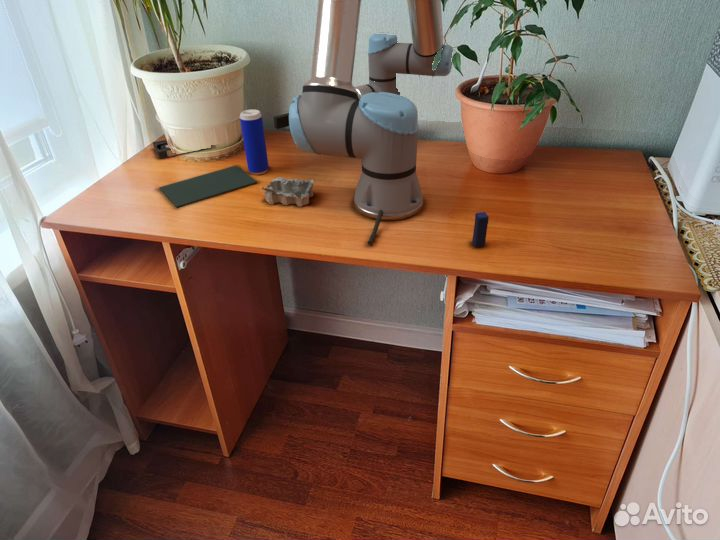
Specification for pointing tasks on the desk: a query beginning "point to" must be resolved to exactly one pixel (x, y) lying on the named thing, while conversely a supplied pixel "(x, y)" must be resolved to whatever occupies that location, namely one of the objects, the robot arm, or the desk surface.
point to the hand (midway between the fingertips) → (275, 122)
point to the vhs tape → (163, 149)
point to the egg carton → (289, 191)
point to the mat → (207, 186)
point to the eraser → (480, 229)
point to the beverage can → (254, 141)
